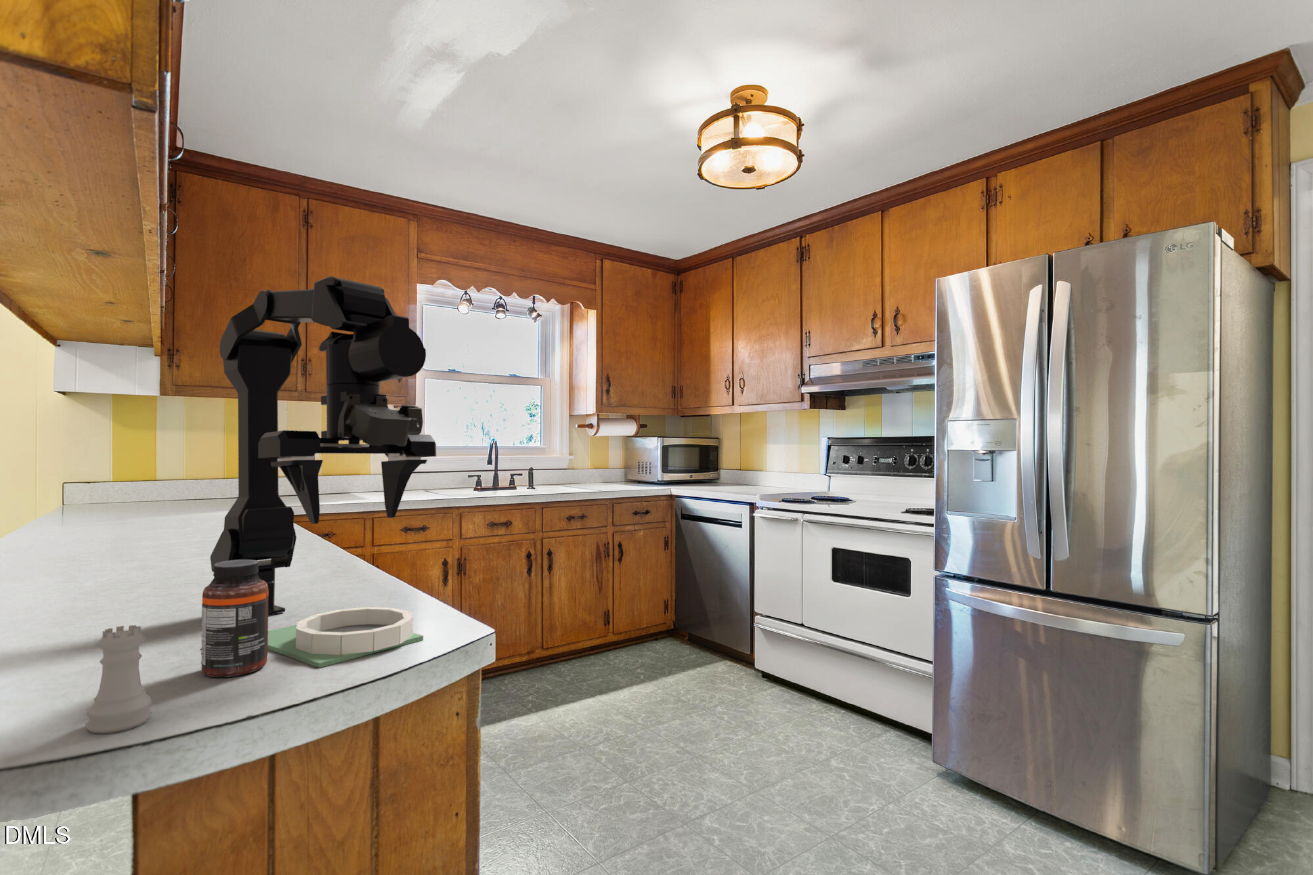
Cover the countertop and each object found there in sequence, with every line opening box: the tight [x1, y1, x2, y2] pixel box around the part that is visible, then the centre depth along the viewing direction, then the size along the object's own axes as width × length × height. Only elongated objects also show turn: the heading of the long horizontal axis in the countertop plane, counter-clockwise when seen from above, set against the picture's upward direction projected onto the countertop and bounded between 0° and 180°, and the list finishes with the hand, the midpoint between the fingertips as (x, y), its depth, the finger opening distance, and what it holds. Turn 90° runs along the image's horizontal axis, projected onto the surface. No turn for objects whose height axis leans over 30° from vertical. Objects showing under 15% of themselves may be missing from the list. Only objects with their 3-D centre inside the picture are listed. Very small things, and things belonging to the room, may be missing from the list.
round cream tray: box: [296, 606, 414, 655], centre depth 80 cm, size 13×13×2 cm
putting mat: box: [268, 624, 424, 669], centre depth 81 cm, size 17×13×1 cm
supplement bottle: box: [199, 560, 269, 679], centre depth 70 cm, size 6×6×11 cm
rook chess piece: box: [84, 624, 153, 735], centre depth 56 cm, size 4×4×8 cm
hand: (354, 520), depth 77 cm, fingers open, 9 cm apart
